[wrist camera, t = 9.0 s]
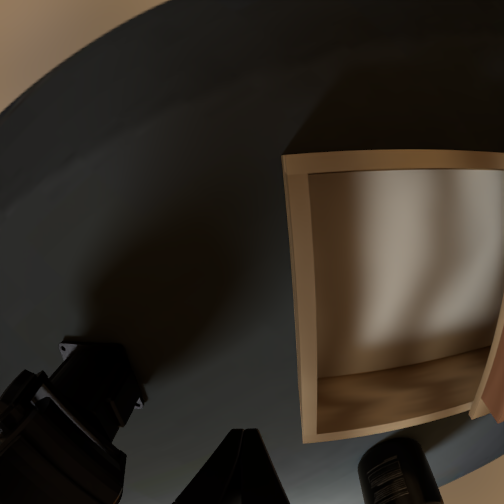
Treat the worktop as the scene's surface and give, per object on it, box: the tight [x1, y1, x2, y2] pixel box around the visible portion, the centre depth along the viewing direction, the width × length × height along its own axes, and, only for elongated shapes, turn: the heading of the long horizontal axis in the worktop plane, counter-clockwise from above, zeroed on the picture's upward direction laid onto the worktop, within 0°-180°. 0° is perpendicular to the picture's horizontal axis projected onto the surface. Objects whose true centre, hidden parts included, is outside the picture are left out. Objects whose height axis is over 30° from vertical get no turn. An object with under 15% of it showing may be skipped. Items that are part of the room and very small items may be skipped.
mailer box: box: [281, 149, 504, 443], centre depth 17 cm, size 18×16×6 cm
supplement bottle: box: [358, 438, 444, 504], centre depth 19 cm, size 7×7×12 cm
